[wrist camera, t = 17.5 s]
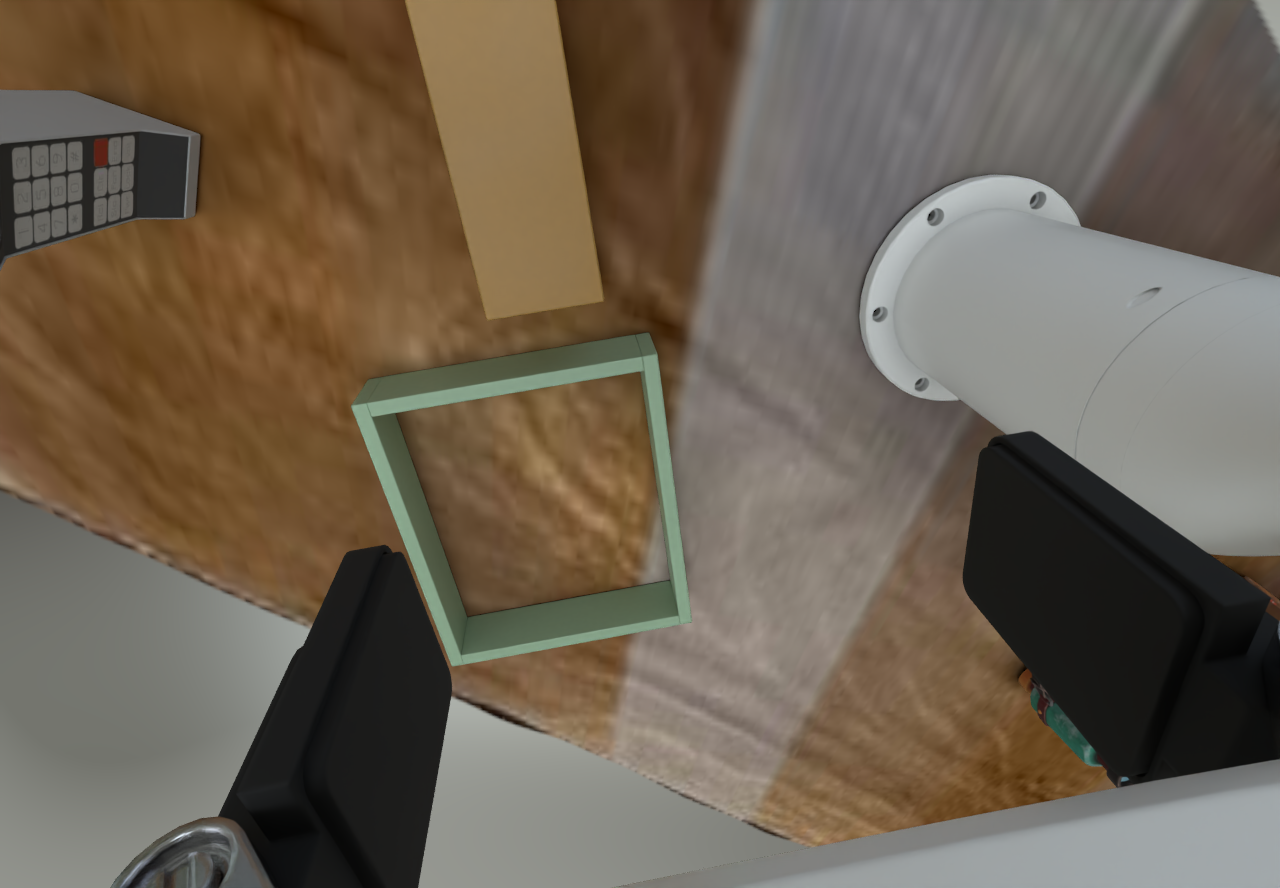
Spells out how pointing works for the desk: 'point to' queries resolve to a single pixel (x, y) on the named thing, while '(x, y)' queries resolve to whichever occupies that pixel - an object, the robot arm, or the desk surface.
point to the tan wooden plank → (511, 150)
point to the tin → (1275, 606)
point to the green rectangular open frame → (419, 533)
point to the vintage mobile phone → (86, 168)
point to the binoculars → (1065, 726)
